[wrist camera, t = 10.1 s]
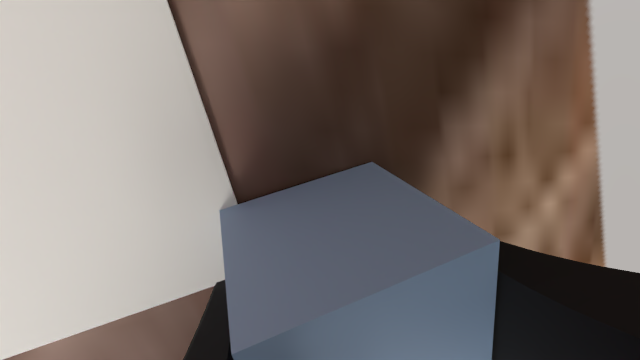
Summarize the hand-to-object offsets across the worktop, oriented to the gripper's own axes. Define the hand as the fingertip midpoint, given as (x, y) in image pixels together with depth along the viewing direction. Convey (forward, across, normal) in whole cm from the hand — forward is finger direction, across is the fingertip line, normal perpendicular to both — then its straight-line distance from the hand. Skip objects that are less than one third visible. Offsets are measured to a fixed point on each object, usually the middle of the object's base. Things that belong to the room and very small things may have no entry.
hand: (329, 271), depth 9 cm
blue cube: (+1, 0, 0) cm, 1 cm away
